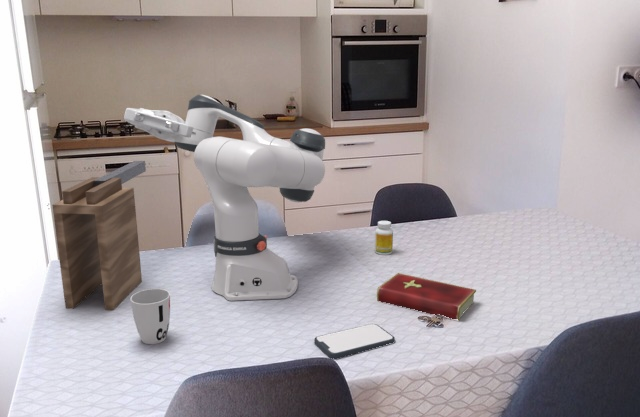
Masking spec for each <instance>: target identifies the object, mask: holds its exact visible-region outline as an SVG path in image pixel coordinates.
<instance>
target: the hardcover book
mask: <svg viewBox="0 0 640 417" xmlns="http://www.w3.org/2000/svg"><path fill="white" fill-rule="evenodd" d="M476 292H477V289H474V288H469V287H465V286H460V285H455V284H453V283H452V284H450V283H447V282H442V281H438V280H434V279H433V280H432V279H427V278H424V277H419V276H418V277H417V276H414V275H409V274H405V273H400V272H398V273H395V275H393V276H392V277H390V279H387V281H385V282H383V284H381V285H379V286H378V287H377V291H376V300H377V302H379V301H381V302H380V303H383V302H386V303H385V304H387V303H390V304H389V305H391V304H394V305H393V306H395V305H397V306H396V307H399V306H402V307H401V308H403V307H406V308H405V309H407V308H410V309H409V310H411V309H415V310H418V311H417V312H419V311H422V312H421V313H423V312H426V313H425V314H427V313H430V314H429V315H431V314H435V315H437V314H440V315H444V316H446V317H449V318H452V319H458V320H459V321H460V318H461V317H462V316H463V315H464V314H463V312H464V311H465V310H466V309H467V308H468V307H469V306H470V305H471V304H472V303H473V304H474V298H475V293H476ZM473 304H472V305H473ZM472 305H471V306H472ZM471 306H470V307H471ZM470 307H469V308H470ZM469 308H468V309H469ZM415 310H414V311H415ZM462 314H463V315H462ZM435 315H434V316H435ZM461 315H462V316H461ZM460 316H461V317H460ZM459 317H460V318H459Z"/></svg>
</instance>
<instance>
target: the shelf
mask: <svg viewBox="0 0 640 417" xmlns="http://www.w3.org/2000/svg"><path fill="white" fill-rule="evenodd" d="M98 178H100V177H99V176H98V177H95V176H93V177H90V178H88V179H86V180H83V181H81V182H79V183H77V184H75V185H73V186H70V187H69V188H67V189H64V190H62V193H61V194H62V200H60V201H58V202H56V203H55V202H54V203H53V204H52V212H53V213H52V214H53V220H54V227H55V237H56V243H57V251H58V260H59V268H60V275H61V283H62V284H61V285H62V290H63V296H64V306H65V307H64V308H65V309H71V310H72V309H75V308H76V307H77V306H78V305H80V304H81V303H82V302H83V301H84V300H86V299H87V298H88V296H90V295H91V294H92V293H93V292H94V291H96V290H97V289H98V288H99V287H101V286H102V292H103V293H102V294H103V301H104V309H105V311H114V310H115V309H116V308H117V307H118V306H119V305H120V304H121V303H122V302H123V301H125V299H126V298H127V297H128V296H129V295H130V294H131V293H132V292H134V290H135V289H136V288H137V287H138V286H139V285H140V284H141V283H142V282H143V278H142V266H141V256H140V247H139V246H140V244H139V233H138V232H139V231H138V220H137V212H136V211H137V210H136V202H135V201H136V200H135V189H134V187H123V186H122V185H123V184H122V183H121V178H112V179H110V180H108V181H106V182H104V183H102V184H100V185H98V186H96V187H94V180H96V179H98Z"/></svg>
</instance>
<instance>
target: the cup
mask: <svg viewBox="0 0 640 417" xmlns="http://www.w3.org/2000/svg"><path fill="white" fill-rule="evenodd" d="M130 306H131V311H132V316H133V320H134V323H135V324H134V325H135V327H136V330H137V333H138V335H139V338H140V339H141V341H142V343H144V345H145V344H146V345H157V344H160V343H162V342H164V341H165V340H166V339H167V336H168V330H169V327H170V318H171V293H170V292H169V290H167V289H164V288H162V289H161V288H148V289H143V290H140V291H137V292H135V293H133V294H132V295H131V296H130Z"/></svg>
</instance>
